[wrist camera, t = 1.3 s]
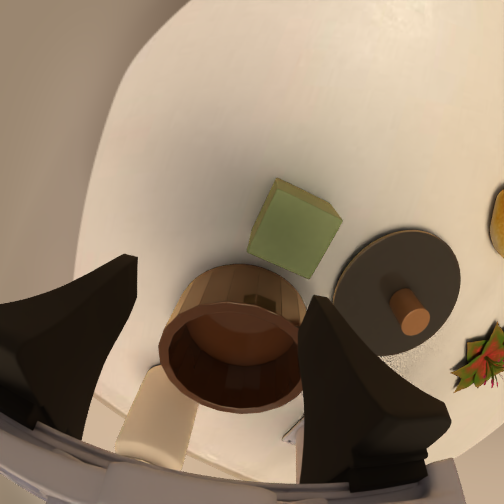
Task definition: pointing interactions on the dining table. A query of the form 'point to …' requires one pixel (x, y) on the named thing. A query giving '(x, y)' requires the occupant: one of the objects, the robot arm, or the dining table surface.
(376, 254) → the lid
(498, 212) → the bread roll
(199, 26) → the dining table surface
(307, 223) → the block
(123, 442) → the can
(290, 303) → the pot
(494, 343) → the lily flower
